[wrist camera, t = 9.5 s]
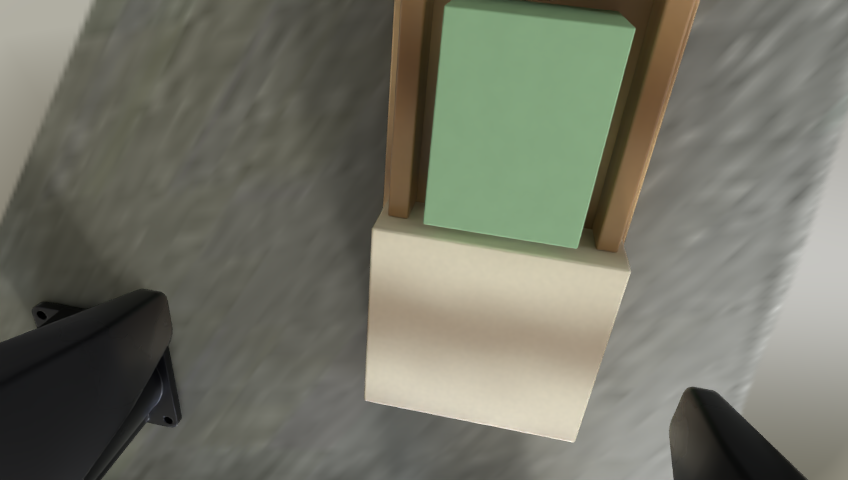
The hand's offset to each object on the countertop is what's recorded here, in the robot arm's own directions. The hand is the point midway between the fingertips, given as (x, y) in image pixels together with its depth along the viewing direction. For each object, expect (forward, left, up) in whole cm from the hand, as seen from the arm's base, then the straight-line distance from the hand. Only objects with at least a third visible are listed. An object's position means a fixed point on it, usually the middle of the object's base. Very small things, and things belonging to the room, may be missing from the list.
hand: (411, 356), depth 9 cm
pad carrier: (-2, -1, -11) cm, 11 cm away
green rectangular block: (+2, -1, -10) cm, 10 cm away
